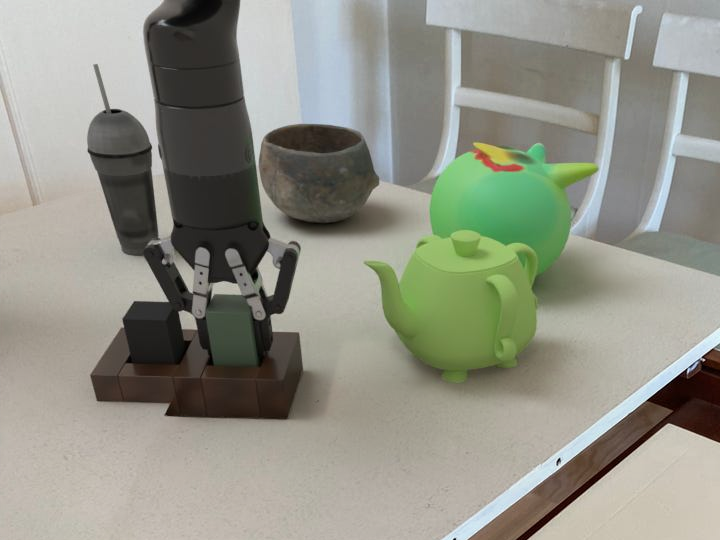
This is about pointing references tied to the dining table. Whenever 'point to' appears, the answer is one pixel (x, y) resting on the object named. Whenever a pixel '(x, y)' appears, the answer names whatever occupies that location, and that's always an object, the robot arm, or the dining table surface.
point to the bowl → (317, 171)
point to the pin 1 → (154, 333)
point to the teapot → (462, 302)
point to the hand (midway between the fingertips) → (238, 352)
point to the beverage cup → (124, 173)
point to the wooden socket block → (204, 380)
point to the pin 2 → (231, 331)
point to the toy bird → (508, 198)
